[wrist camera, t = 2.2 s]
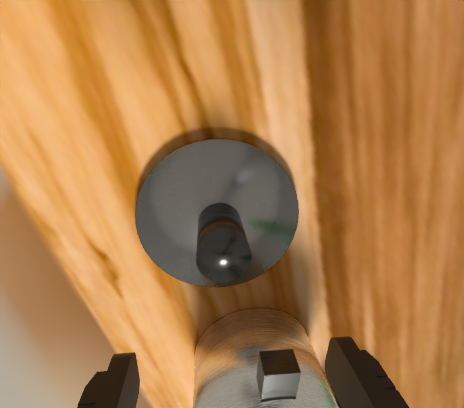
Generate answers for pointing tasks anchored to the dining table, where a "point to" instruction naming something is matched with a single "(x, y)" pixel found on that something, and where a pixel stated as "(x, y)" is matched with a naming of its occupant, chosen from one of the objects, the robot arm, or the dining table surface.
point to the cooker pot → (258, 364)
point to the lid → (216, 212)
